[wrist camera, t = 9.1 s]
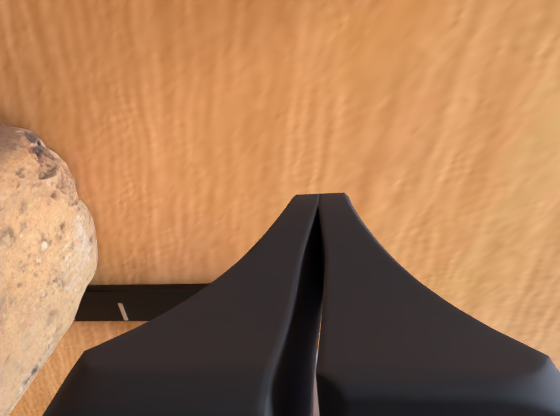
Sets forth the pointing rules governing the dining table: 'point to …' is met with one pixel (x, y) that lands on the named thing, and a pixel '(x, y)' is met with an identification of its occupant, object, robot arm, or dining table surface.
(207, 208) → the dining table surface
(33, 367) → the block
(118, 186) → the dining table surface
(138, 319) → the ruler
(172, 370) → the robot arm
